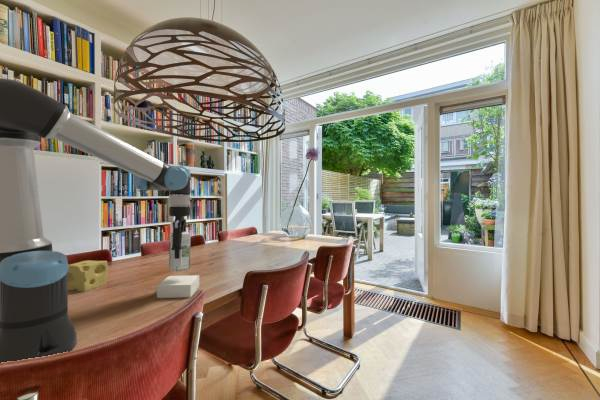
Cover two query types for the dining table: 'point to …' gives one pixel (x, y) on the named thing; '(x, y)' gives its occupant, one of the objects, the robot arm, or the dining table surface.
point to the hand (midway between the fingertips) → (179, 263)
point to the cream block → (178, 286)
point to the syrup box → (185, 252)
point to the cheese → (87, 275)
